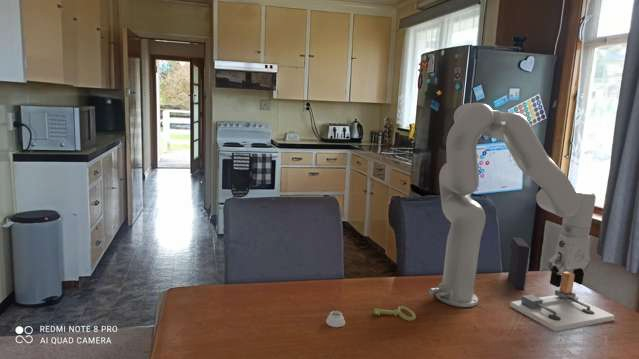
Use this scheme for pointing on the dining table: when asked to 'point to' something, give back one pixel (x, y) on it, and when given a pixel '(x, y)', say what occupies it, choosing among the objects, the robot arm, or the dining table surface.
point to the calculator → (519, 263)
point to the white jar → (335, 319)
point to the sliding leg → (568, 288)
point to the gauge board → (560, 312)
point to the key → (396, 312)
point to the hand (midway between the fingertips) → (565, 284)
